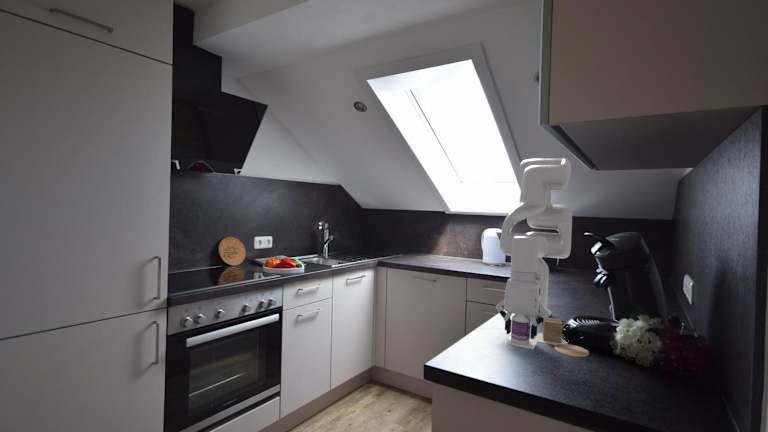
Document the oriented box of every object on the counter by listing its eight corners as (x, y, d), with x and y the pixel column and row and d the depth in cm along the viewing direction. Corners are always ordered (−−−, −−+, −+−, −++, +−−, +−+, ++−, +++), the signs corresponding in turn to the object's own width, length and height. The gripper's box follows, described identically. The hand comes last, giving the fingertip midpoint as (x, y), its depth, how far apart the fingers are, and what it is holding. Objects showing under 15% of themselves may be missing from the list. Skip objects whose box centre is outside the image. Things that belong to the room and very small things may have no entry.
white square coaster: (508, 335, 124) (508, 334, 124) (538, 341, 119) (538, 340, 119) (501, 343, 116) (501, 342, 116) (533, 350, 111) (533, 349, 111)
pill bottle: (532, 345, 115) (533, 312, 115) (514, 344, 115) (515, 312, 115) (525, 338, 120) (527, 307, 120) (508, 337, 120) (510, 307, 120)
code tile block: (538, 333, 127) (538, 332, 127) (568, 339, 122) (568, 338, 122) (534, 341, 119) (534, 340, 119) (566, 347, 114) (566, 346, 114)
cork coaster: (556, 343, 118) (556, 341, 118) (589, 349, 113) (589, 348, 113) (552, 352, 110) (552, 351, 110) (588, 359, 105) (588, 358, 105)
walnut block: (542, 335, 124) (543, 317, 124) (559, 338, 122) (560, 319, 122) (543, 340, 119) (544, 321, 119) (561, 343, 117) (562, 323, 117)
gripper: (555, 278, 116) (552, 337, 116) (497, 271, 125) (494, 326, 125) (552, 282, 109) (549, 345, 110) (491, 274, 118) (488, 333, 119)
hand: (520, 334), depth 118 cm, fingers open, 6 cm apart
